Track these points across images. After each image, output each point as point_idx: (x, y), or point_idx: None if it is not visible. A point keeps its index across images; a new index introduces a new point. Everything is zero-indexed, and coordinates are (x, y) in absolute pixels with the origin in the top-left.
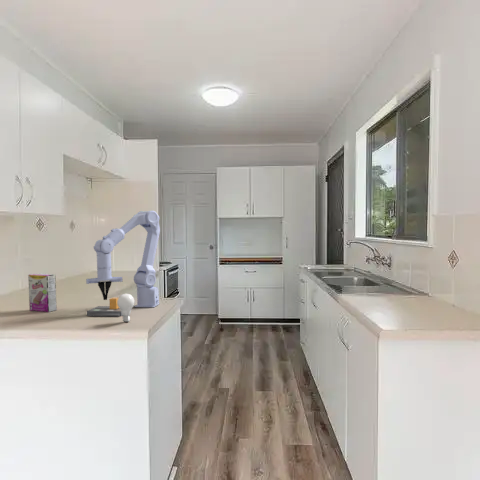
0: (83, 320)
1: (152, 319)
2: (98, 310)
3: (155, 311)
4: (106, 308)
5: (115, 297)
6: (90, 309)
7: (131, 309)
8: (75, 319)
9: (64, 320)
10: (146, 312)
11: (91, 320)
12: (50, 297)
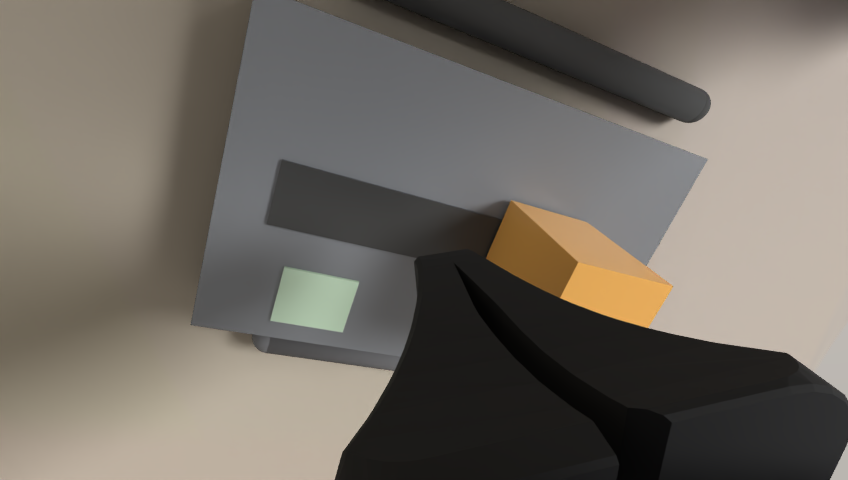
0: (245, 456)
1: None
2: (344, 326)
3: (844, 225)
4: (427, 236)
5: (613, 277)
6: (209, 239)
7: (687, 119)
8: (140, 421)
9: (29, 447)
10: (769, 250)
11: (320, 459)
12: None
